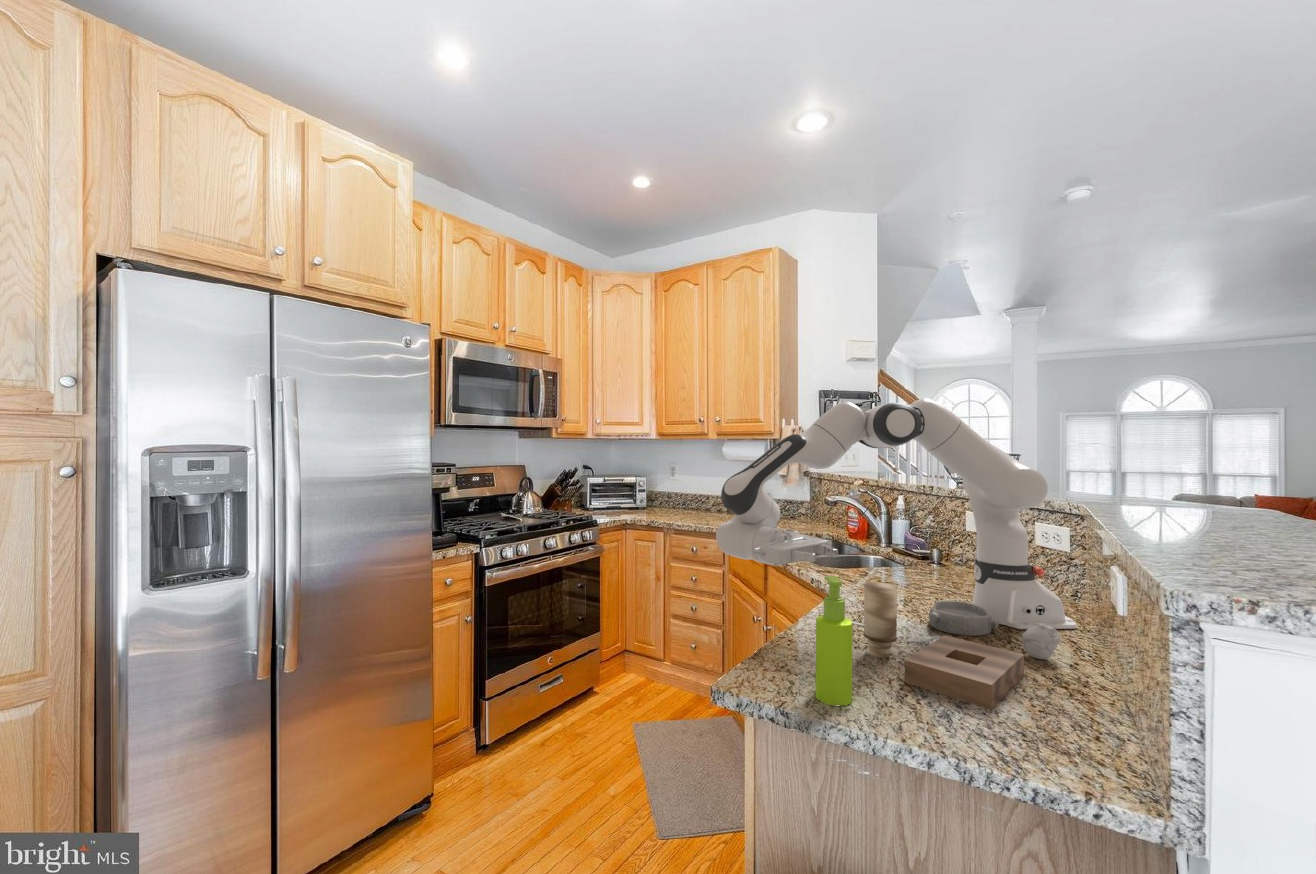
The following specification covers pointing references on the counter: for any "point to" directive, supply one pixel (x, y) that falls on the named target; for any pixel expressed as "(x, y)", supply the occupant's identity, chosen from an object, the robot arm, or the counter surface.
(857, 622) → the fork
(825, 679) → the soap dispenser
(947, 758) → the counter surface
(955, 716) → the counter surface
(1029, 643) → the frog figurine
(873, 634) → the maple leg
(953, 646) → the walnut board
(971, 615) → the dish
